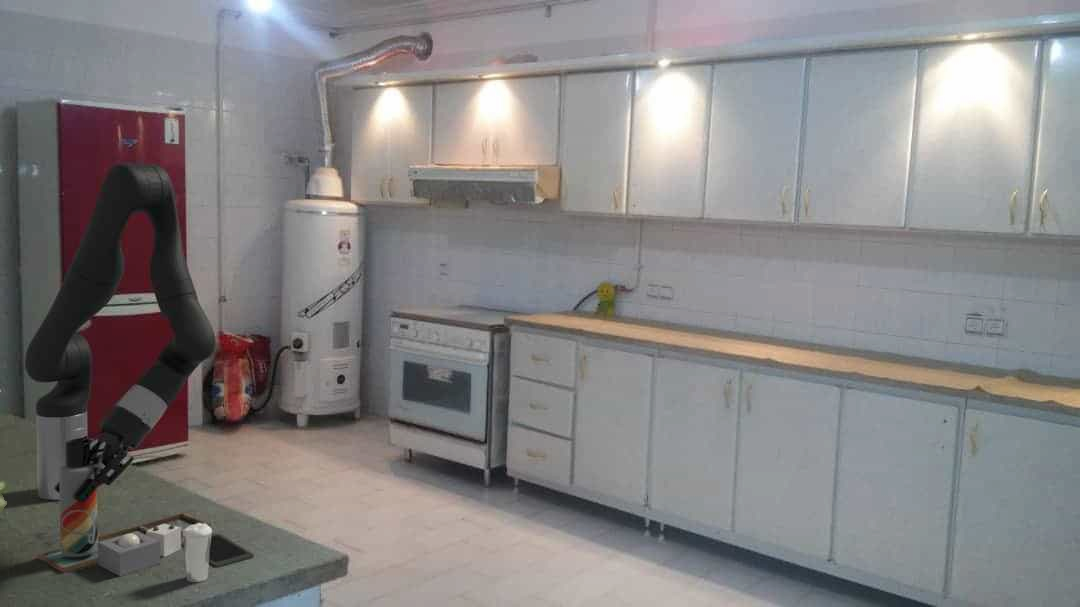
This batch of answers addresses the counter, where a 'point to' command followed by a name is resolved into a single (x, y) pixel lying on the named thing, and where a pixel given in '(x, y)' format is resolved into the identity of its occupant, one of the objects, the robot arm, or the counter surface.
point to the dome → (128, 540)
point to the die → (166, 538)
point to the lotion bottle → (75, 516)
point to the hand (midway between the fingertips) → (68, 496)
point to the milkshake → (197, 551)
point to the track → (72, 563)
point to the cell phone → (226, 551)
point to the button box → (128, 554)
